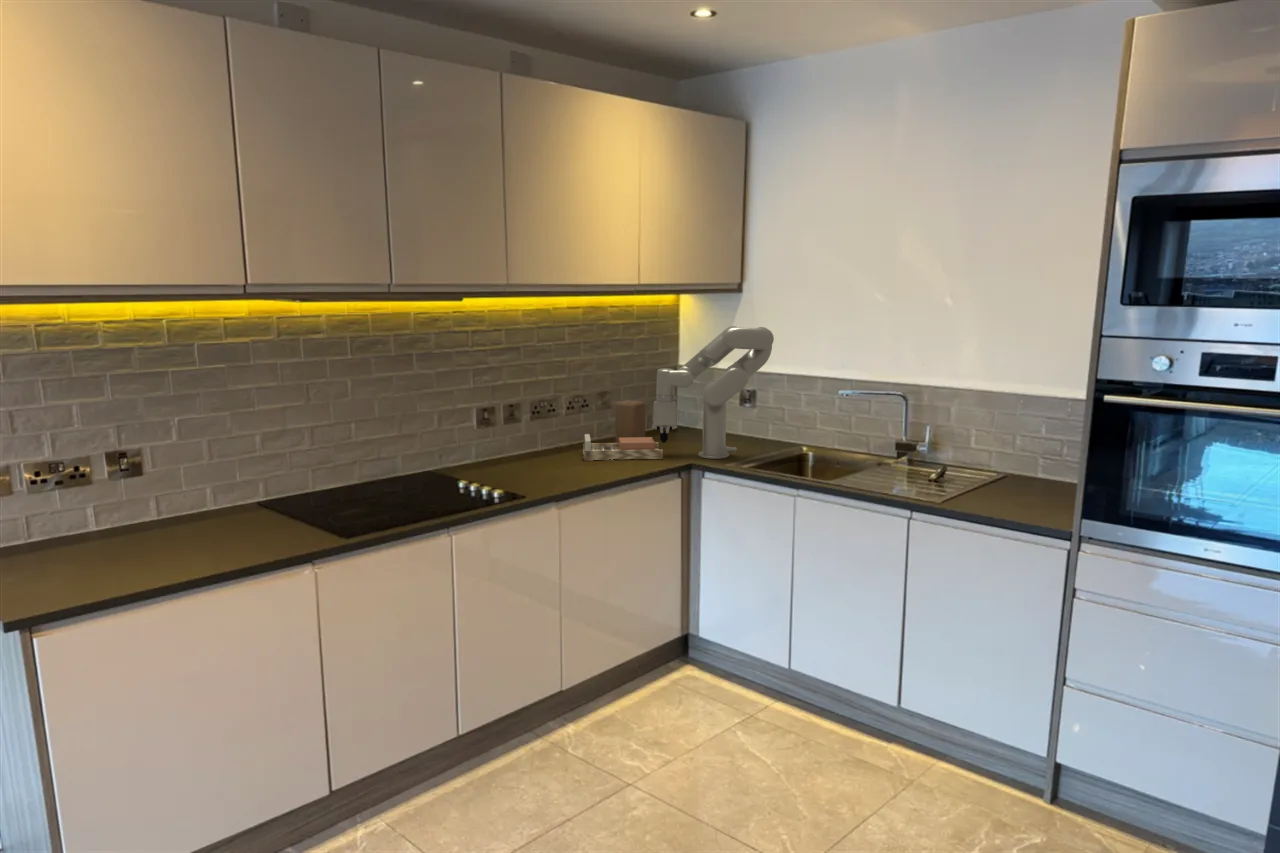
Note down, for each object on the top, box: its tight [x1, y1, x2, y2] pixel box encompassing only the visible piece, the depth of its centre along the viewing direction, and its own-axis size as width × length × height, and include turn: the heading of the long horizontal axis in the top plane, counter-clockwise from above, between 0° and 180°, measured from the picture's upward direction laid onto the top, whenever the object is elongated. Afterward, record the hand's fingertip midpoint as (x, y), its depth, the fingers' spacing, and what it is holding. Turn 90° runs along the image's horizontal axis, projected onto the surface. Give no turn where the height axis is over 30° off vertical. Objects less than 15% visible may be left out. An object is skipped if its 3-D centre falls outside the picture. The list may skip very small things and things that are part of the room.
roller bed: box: [582, 441, 664, 462], centre depth 342 cm, size 32×16×4 cm, turn 95°
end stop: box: [584, 433, 592, 456], centre depth 340 cm, size 2×16×6 cm, turn 5°
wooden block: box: [615, 399, 646, 443], centre depth 360 cm, size 10×10×20 cm
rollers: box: [591, 445, 621, 450], centre depth 342 cm, size 26×14×2 cm, turn 95°
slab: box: [619, 436, 656, 450], centre depth 342 cm, size 14×12×3 cm
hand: (663, 442), depth 343 cm, fingers closed
